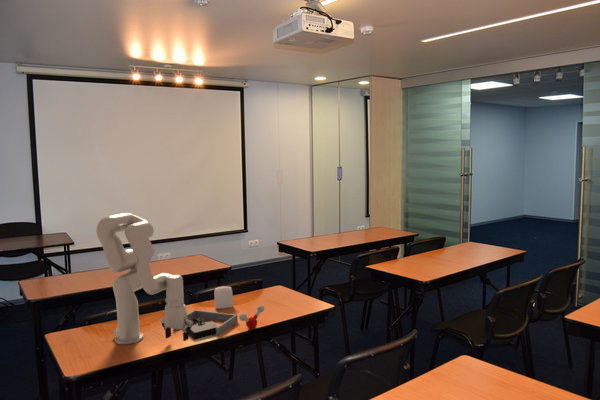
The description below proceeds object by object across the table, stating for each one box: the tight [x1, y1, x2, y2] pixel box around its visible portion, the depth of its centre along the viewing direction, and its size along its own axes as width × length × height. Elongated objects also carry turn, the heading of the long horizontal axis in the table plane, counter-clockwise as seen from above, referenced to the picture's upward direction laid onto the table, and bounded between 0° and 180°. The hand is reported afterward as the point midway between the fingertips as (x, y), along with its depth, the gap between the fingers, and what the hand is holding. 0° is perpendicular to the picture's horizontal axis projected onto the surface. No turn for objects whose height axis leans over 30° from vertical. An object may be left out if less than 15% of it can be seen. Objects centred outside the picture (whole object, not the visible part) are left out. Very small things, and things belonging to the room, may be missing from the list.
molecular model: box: [238, 304, 265, 330], centre depth 215 cm, size 18×6×10 cm, turn 154°
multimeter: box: [185, 316, 219, 341], centre depth 214 cm, size 13×19×5 cm
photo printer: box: [213, 285, 234, 310], centre depth 247 cm, size 10×4×12 cm, turn 99°
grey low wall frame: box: [172, 309, 239, 337], centre depth 220 cm, size 26×19×4 cm
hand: (177, 338), depth 198 cm, fingers open, 9 cm apart
